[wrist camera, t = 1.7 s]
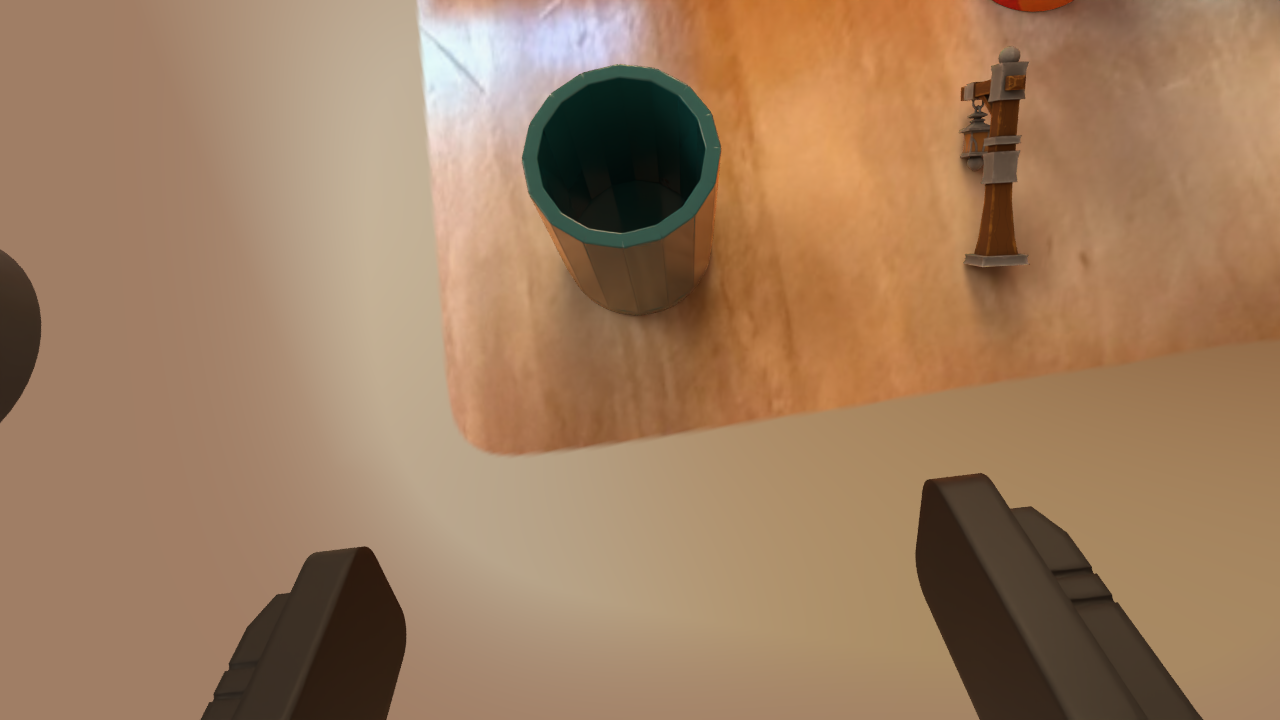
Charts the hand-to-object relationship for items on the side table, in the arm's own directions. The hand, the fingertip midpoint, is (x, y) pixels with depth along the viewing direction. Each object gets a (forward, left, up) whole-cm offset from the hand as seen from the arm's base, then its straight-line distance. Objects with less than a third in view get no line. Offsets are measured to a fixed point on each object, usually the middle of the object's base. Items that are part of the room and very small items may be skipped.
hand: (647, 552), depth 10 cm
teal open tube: (+1, +12, -18) cm, 21 cm away
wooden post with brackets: (+15, +11, -18) cm, 26 cm away
